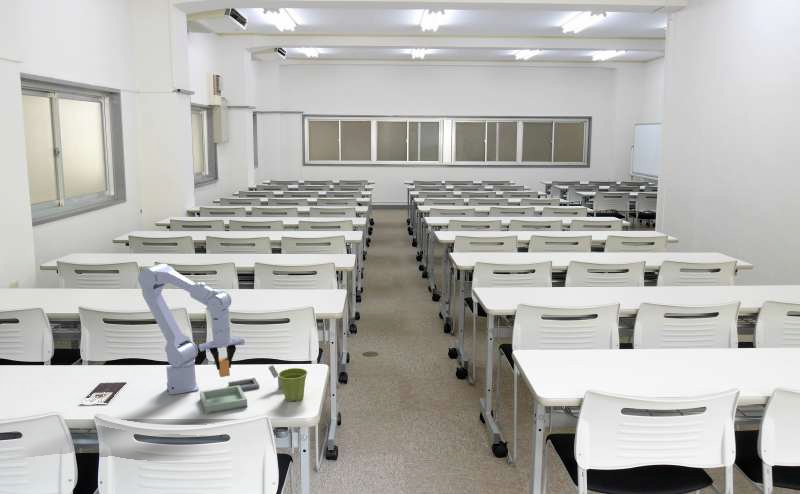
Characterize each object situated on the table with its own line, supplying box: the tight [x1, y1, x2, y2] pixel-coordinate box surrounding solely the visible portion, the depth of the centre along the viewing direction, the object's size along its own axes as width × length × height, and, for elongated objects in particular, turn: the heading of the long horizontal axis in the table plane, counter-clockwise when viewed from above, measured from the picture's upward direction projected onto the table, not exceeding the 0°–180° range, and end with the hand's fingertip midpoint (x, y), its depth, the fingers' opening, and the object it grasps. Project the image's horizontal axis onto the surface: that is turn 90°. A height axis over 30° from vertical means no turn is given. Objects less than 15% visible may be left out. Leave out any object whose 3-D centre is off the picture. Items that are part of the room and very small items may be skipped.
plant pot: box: [278, 367, 308, 402], centre depth 226 cm, size 9×9×9 cm
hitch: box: [227, 377, 260, 392], centre depth 237 cm, size 9×7×1 cm
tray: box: [199, 385, 248, 415], centre depth 224 cm, size 13×13×3 cm
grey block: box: [268, 364, 283, 389], centre depth 236 cm, size 7×2×8 cm, turn 93°
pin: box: [218, 356, 231, 378], centre depth 230 cm, size 3×3×6 cm
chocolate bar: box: [85, 381, 127, 404], centre depth 233 cm, size 9×1×18 cm
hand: (223, 368), depth 230 cm, fingers closed on pin, 3 cm apart
